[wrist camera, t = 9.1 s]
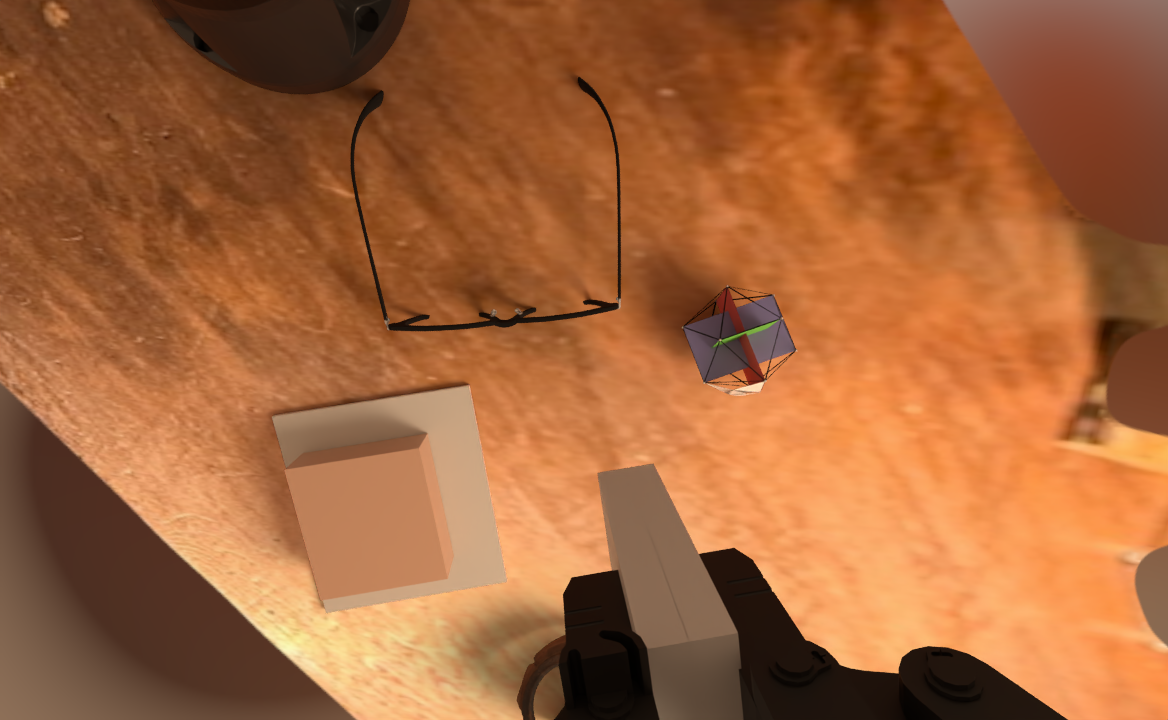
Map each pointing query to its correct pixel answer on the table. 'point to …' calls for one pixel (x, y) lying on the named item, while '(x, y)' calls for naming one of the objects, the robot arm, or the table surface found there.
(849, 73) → the table surface
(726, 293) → the geometric puzzle
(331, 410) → the mat
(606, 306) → the eyeglasses
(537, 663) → the brown curved band frame
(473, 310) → the table surface
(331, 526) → the block
